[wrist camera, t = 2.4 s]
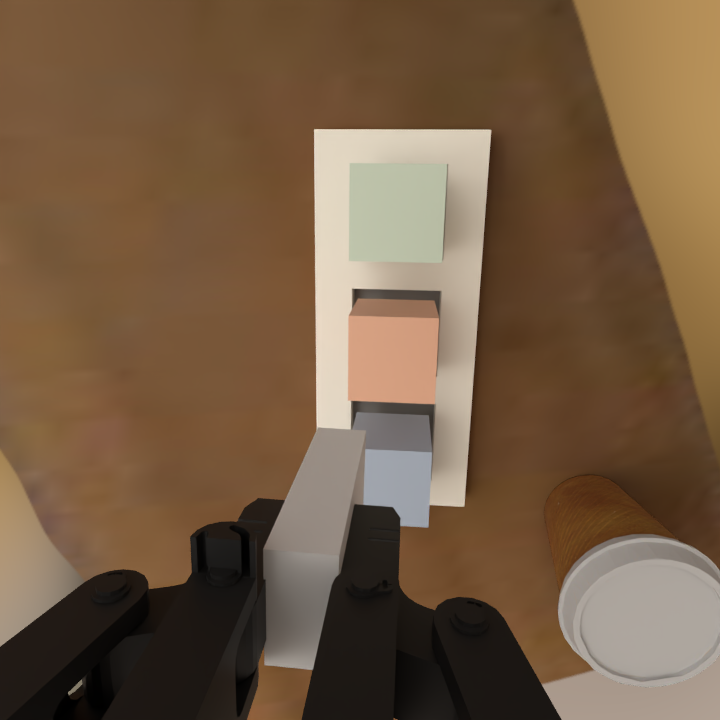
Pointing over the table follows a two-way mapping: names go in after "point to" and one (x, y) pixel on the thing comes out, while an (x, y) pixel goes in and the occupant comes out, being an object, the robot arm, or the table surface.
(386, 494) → the slate block
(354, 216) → the sage block
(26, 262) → the table surface
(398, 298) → the board
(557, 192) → the table surface
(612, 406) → the table surface
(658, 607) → the disposable coffee cup
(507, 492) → the table surface
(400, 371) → the terracotta block
